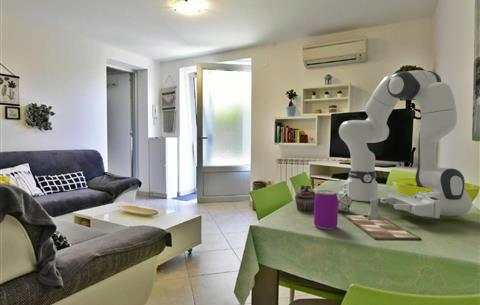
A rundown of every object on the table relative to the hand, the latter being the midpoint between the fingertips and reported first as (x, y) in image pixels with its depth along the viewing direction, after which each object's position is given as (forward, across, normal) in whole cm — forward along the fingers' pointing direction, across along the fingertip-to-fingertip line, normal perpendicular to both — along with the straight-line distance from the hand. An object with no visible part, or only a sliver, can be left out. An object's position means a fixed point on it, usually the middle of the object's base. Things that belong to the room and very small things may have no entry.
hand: (387, 203), depth 109 cm
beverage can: (+26, +10, +6) cm, 29 cm away
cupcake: (+27, -14, +6) cm, 31 cm away
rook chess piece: (+5, 0, +6) cm, 8 cm away
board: (+8, +9, +6) cm, 13 cm away
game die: (+13, -11, +6) cm, 18 cm away
